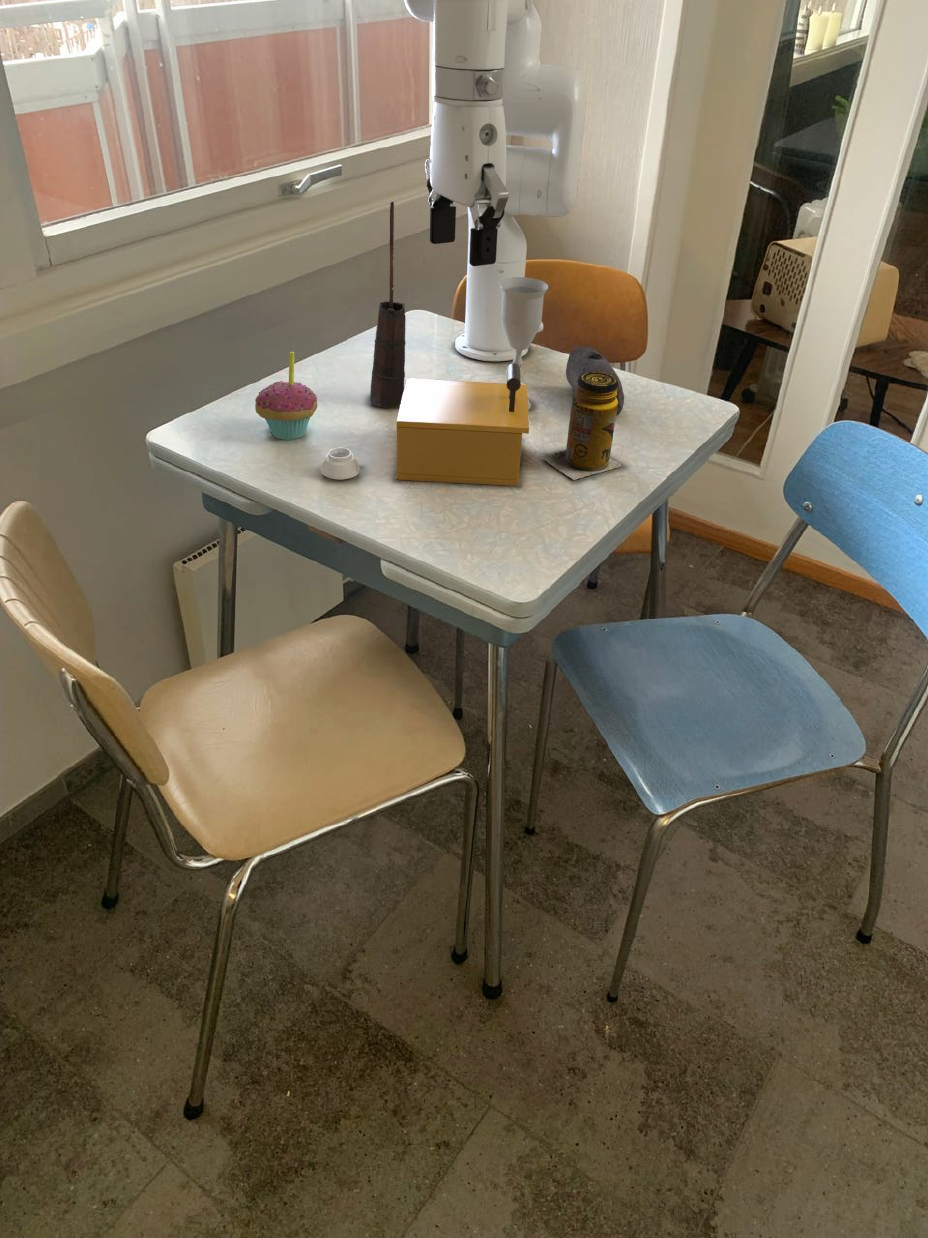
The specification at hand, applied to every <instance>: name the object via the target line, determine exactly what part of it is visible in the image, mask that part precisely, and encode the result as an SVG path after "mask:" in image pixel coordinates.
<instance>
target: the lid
mask: <svg viewBox="0 0 928 1238" xmlns="http://www.w3.org/2000/svg"><path fill="white" fill-rule="evenodd" d="M520 370H521V368H520V367H519V365H517V364H515V363H513V362H512V363H510V364H508V365H507V367H506V374H505V375H506V378H505V379H506V380H505V381H506V382H505V383H502V382H483V381H467V380H466V381H463V380H445V379H428V378H427V379H426V378H408V377H407V378H406V379H405V382H404V391H403V396H402V400H401V405H399V408H398V413H397V418H396V428H397V427H412V428H431V429H450V430H469V431H488V432H508V433H522V434H529V433H530V417H529V409H528V398H529V394H528V392H529V391H528V389H529V388H528V384H525V383H523V384H522V382H521V381H522V380H521V377H522V376H521V377H520Z"/></svg>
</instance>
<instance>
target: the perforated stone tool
mask: <svg viewBox="0 0 928 1238" xmlns="http://www.w3.org/2000/svg"><path fill="white" fill-rule="evenodd" d="M586 372H604V373H607V374H610V375H612V376H614V377H615V378H616V379H617V381H618V387H617V396H616V398H617V400H618V407H617V413H616V417H618V416H619V415H620V414H621V413H622V412H623V409H624V406H625V393H624V389H623V384H622V381H621V379H620V377H619V375H618V374H617V372H616V371H615V370H614V368H613V366H612V364H610V363H609V361H608V360H607V359H606V358H605V357H604V356H603V355H602V354H601V353H599V352H597V350H595V349H594V348H593V347H589V346H578V347H576V348H574V349H573V350H571V351H570V352H569V354H568V358H567V362H566V367H565V376H566V377H565V378H566V380H567V382H568V384H569V386H570V387H571V388H572V391H574V394H575V393H576V387H577V385H578V384H577V380H578V378H579V376H580V375H581V374H583V373H586Z"/></svg>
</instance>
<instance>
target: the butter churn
mask: <svg viewBox="0 0 928 1238" xmlns="http://www.w3.org/2000/svg"><path fill="white" fill-rule="evenodd" d="M394 220H395V202H394V201H390V204H389V300H387V301H386V300H385V301H381V302H379V304H378V305H379V306H378V314H377V323H376V330H375V339H374V349H373V363H372V370H371V379H370V391H369V392H370V393H369V394H370V395H369V401H370V404H372V405H373V406H375V407H378V408H383V409H390V408H392V407H397V406H400V405H401V400H402V396H403V391H404V387H405V378H406V371H405V365H406V364H405V363H406V322H407V321H406V314H405V313H406V307H405V303H404V302H403V303H402V302H398V301H394V289H393V288H394V286H395V285H394V247H395V246H394V240H395V236H394V232H395V231H394V229H395V221H394Z"/></svg>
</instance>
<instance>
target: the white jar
mask: <svg viewBox="0 0 928 1238" xmlns="http://www.w3.org/2000/svg"><path fill="white" fill-rule="evenodd" d="M320 472H321V474H322V475H323V476H324V477H326V478H328V479H333V480H337V481H338V480H342V481H343V480H348V479H352V478H354V477H356V476H358V475H359V474H360V472H361V466H360V464H359V463H358V461H357V458H356V457H355V456H354V454H353V453H352V450H350V448H346V447H333V448H331V449H329V450H328V452H327V455H326V456H325V457H324V459H323V461H322V464H321V466H320Z"/></svg>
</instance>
